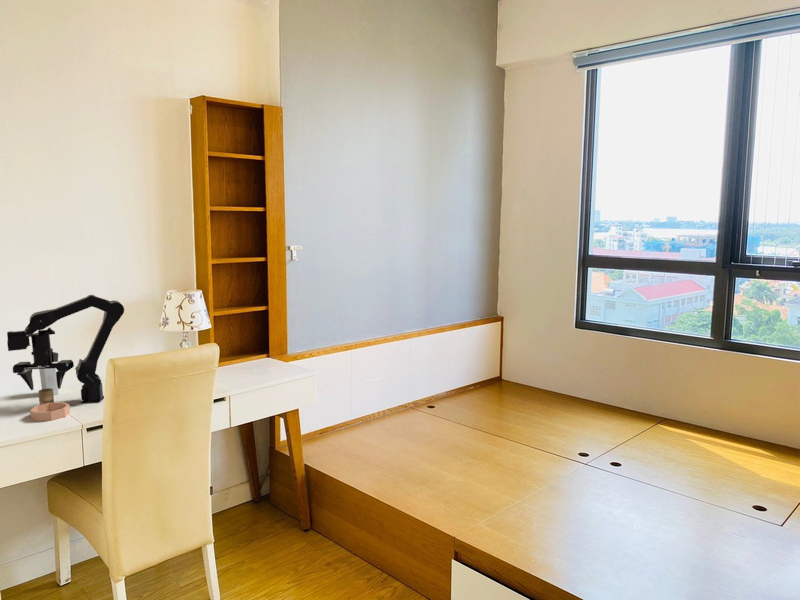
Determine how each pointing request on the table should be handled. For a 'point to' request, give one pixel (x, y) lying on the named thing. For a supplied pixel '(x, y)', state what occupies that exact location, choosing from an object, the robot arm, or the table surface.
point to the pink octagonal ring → (44, 410)
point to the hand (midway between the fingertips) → (45, 389)
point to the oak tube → (46, 396)
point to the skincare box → (49, 379)
